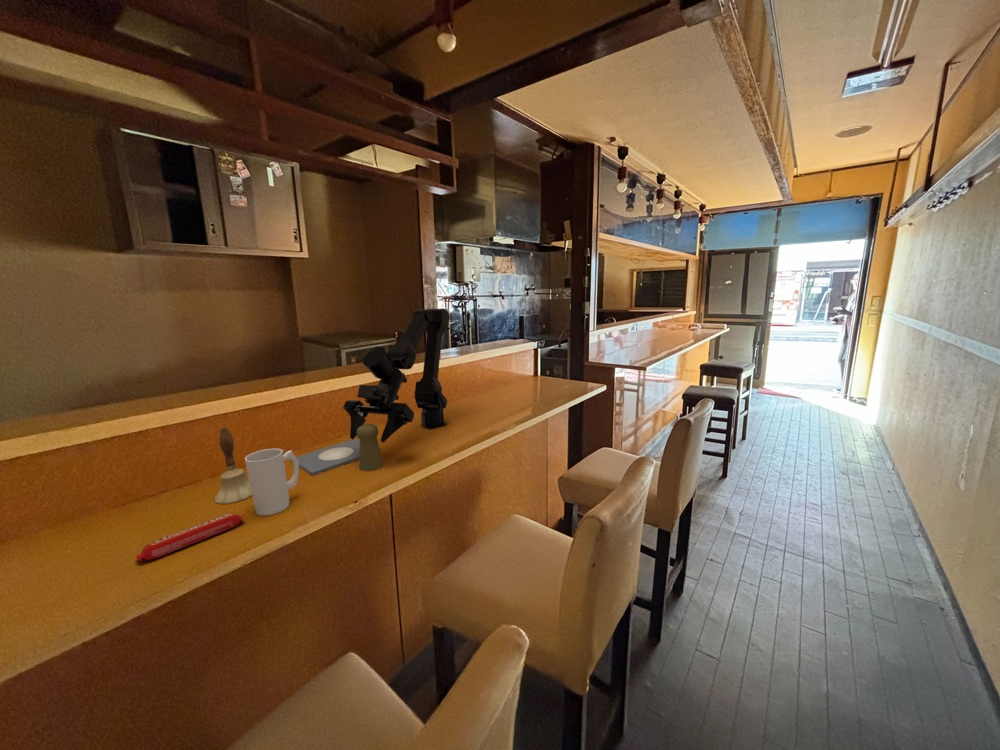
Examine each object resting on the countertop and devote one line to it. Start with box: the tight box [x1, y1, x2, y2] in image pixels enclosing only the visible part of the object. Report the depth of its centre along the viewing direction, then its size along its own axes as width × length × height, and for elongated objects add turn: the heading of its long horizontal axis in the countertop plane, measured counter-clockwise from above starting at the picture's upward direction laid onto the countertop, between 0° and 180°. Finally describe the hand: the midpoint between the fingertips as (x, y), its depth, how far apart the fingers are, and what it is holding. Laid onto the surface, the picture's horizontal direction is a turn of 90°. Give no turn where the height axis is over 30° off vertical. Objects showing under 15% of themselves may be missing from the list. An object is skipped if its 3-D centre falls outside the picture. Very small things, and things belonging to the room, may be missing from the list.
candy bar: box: [135, 512, 245, 562], centre depth 74 cm, size 16×4×3 cm, turn 139°
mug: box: [244, 447, 300, 517], centre depth 84 cm, size 10×7×12 cm, turn 147°
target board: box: [289, 437, 381, 476], centre depth 110 cm, size 19×14×1 cm
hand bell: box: [213, 426, 252, 505], centre depth 89 cm, size 8×8×16 cm
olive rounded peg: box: [356, 423, 384, 472], centre depth 102 cm, size 6×6×11 cm
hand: (366, 440), depth 101 cm, fingers open, 9 cm apart
